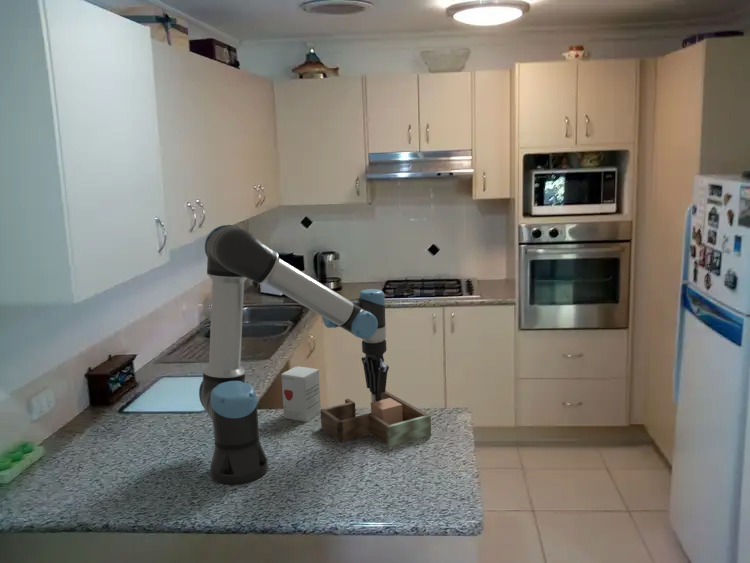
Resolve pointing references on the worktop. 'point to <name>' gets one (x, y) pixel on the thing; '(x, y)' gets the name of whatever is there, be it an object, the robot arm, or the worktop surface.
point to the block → (387, 410)
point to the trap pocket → (344, 422)
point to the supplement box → (301, 393)
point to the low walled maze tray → (399, 424)
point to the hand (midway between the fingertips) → (376, 412)
